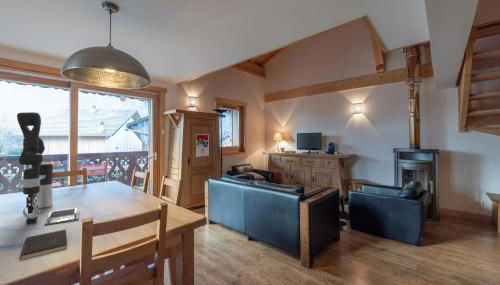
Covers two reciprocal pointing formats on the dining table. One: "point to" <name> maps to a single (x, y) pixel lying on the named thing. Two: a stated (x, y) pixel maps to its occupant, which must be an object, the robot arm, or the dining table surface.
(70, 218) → the rack
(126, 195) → the dining table surface
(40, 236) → the hardcover book
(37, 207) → the watch
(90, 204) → the dining table surface
